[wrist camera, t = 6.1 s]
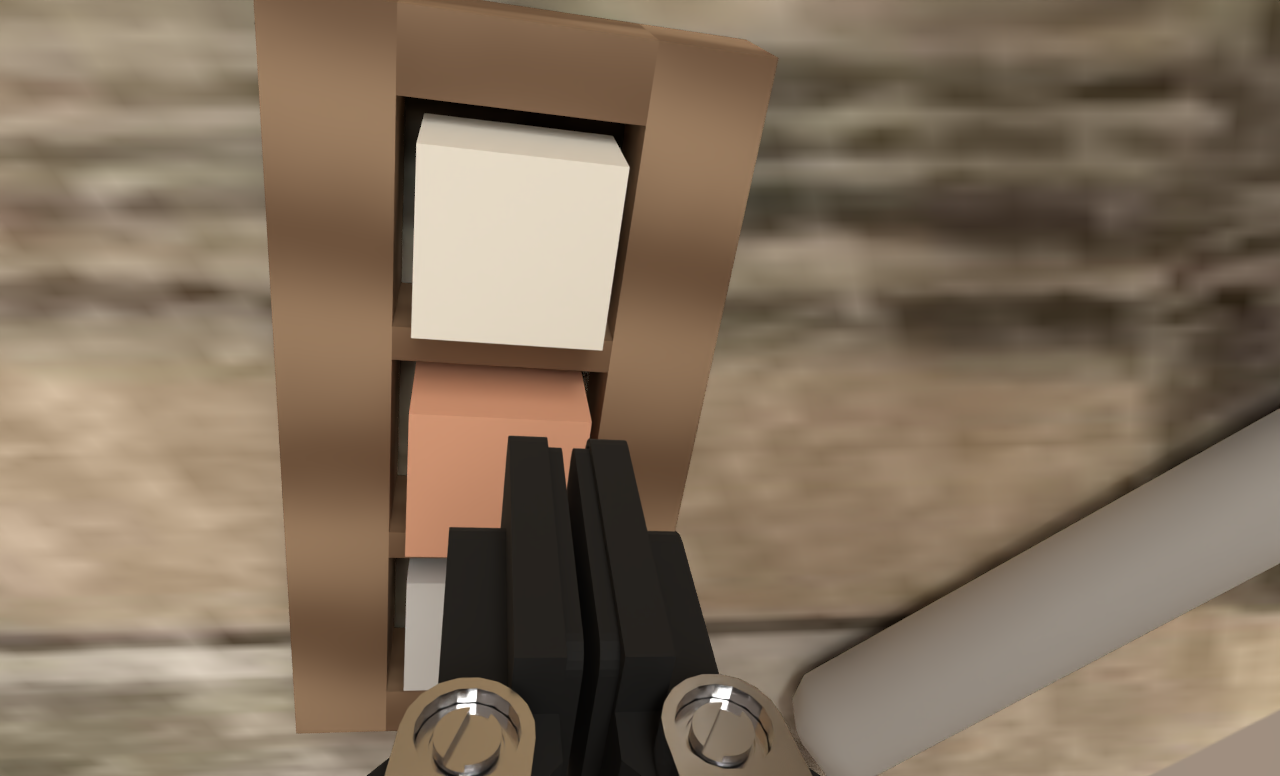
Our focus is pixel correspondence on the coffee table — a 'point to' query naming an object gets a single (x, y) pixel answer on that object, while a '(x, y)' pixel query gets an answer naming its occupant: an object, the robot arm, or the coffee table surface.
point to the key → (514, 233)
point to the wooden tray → (382, 306)
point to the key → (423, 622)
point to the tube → (1049, 609)
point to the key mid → (479, 441)
